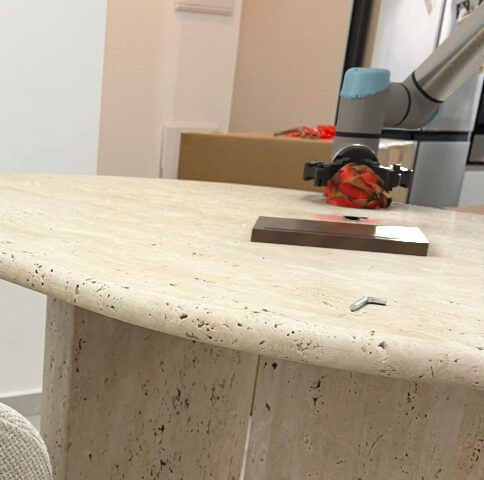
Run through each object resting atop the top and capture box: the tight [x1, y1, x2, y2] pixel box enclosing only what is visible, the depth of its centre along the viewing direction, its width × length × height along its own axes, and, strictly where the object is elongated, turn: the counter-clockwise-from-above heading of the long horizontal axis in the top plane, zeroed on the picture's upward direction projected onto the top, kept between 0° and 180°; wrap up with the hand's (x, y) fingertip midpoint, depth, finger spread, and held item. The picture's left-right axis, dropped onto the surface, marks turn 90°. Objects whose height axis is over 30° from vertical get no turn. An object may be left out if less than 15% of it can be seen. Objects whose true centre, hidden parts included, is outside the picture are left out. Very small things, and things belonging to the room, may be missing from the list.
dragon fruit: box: [322, 163, 393, 221], centre depth 139 cm, size 8×8×12 cm
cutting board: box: [250, 215, 430, 257], centre depth 117 cm, size 20×14×2 cm
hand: (358, 178), depth 134 cm, fingers closed on dragon fruit, 8 cm apart
